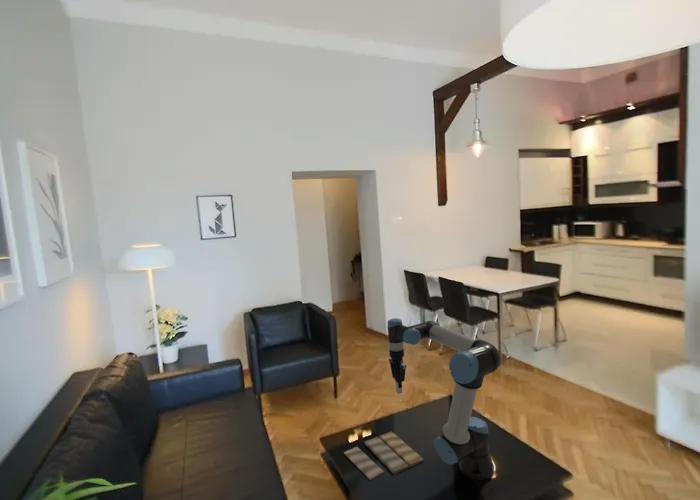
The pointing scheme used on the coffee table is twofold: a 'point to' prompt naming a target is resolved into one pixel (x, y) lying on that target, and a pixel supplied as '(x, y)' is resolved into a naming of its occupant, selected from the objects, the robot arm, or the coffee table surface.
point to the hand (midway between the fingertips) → (399, 392)
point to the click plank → (386, 455)
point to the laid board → (401, 449)
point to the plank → (364, 463)
